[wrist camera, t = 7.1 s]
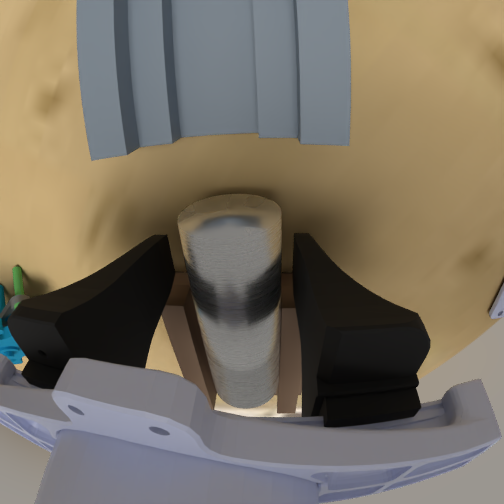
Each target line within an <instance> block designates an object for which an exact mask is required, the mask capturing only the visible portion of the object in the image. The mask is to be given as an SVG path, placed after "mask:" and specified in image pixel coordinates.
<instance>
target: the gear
mask: <svg viewBox="0 0 504 504" xmlns="http://www.w3.org/2000/svg"><path fill="white" fill-rule="evenodd" d="M12 270H13V281H14V291H15V296H13V297H12V298H11V299H10V300H9V302H8V303H7V305H5V297H4V287H3V286H2V285H0V354H2V355H4V356H6V357H7V358H8V359H9V360H10V361H11V362H12V363H13V364H20V363H23V361H22V357H23V356H26V355H25V354H24V353H23V351H22V350H21V348H20V347H19V346H18V344H17V343H16V341H15V340H14V338H13V337H12V335H11V333H10V331H9V328H8V322H7V320H8V318H9V316H10V315H11V314H12V312H13V311H14V310H15V308H16V307H17V306H18V304H19V303H20V302H21V301H22V300H25V299H29V298H30V297H29V296H27V295H24V289H23V280H22V271H21V267H14V268H13V269H12Z"/></svg>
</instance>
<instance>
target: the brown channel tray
mask: <svg viewBox="0 0 504 504" xmlns="http://www.w3.org/2000/svg"><path fill="white" fill-rule="evenodd" d="M162 318H163V321H164V324H165V327H166V330H167V333H168V336H169V338H170V341H171V344H172V347H173V350H174V352H175V355H176V358H177V361H178V363H179V366H180V368H181V371H182V374H183V376H184V378H185V379H187V380H189V381H190V382H192V383H194V384H196V385H197V387H198V388H199V389H200V390H201V391H202V392H203V394H204V395H205V396H206V397H207V400H208V403H209V406H210V408H211V409H212V410H214V407H215V400H216V394H217V391H216V388H215V384H214V381H213V377H212V373H211V370H210V366H209V362H208V358H207V355H206V351H205V347H204V343H203V339H202V335H201V331H200V327H199V323H198V318H197V314H196V310H195V306H194V301H193V297H192V292H191V288H190V283H189V279H188V274H187V273H183V272H175V277H174V282H173V285H172V289H171V293H170V295H169V298H168V300H167V302H166V305H165V307H164V310H163V312H162ZM301 392H302V365H301V342H300V333H299V327H298V321H297V314H296V308H295V302H294V296H293V276H292V273H281V319H280V356H279V384H278V388H277V391H276V393H275V395H277V413H295V410H296V404H297V398H298V395H301Z"/></svg>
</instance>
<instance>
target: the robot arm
mask: <svg viewBox="0 0 504 504" xmlns="http://www.w3.org/2000/svg"><path fill="white" fill-rule="evenodd" d="M292 276H293V296H294V302H295V308H296V314H297V321H298V327H299V333H300V342H301V365H302V417H246V416H240V415H235V414H230V413H226V412H221V411H217V410H212V409H211V408H210V406H209V403H208V400H207V397H206V396H205V395H204V394H203V392H202V391H201V390H200V389H199V388H198V387H197V385H196V384H194V383H192V382H190V381H189V380H187V379H185V378H183V377H181V376H179V375H176V374H172V373H168V372H164V371H160V370H153V369H146V368H145V366H146V361H147V357H148V353H149V349H150V345H151V341H152V338H153V335H154V332H155V329H156V327H157V324H158V322H159V319H160V317H161V315H162V312H163V310H164V307H165V305H166V302H167V300H168V298H169V295H170V293H171V289H172V285H173V282H174V277H175V269H174V265H173V260H172V256H171V251H170V246H169V241H168V237H167V235H153V236H151V237H149V238H148V239H146V240H145V241H143V242H141V243H140V244H139V245H137V246H136V247H134V248H133V249H131V250H130V251H128V252H127V253H125V254H124V255H123V256H121V257H119V258H118V259H116V260H115V261H113V262H112V263H110V264H109V265H107V266H106V267H104V268H102V269H101V270H99V271H97V272H95V273H93V274H92V275H90V276H88V277H86V278H84V279H82V280H80V281H77V282H75V283H73V284H71V285H69V286H66V287H64V288H61V289H58V290H56V291H53V292H50V293H47V294H44V295H40V296H36V297H33V298H29V299H25V300H22V301H21V302H20V303H19V304H18V306H17V307H16V308H15V310H14V311H13V312H12V314H11V315H10V316H9V318H8V320H7V322H8V328H9V331H10V333H11V335H12V337H13V338H14V340H15V341H16V343H17V344H18V346H19V347H20V348H21V350H22V351H23V353H24V354H25V355H26V357H27V358H28V359H29V361H28V363H27V364H26V366H25V368H24V369H23V371H20V370H17V369H16V367H15V366H14V364H13V363H12V362H11V361H10V360H9V359H8V358H7V357H6V356H4V355H2V354H0V423H1V424H3V425H4V426H6V427H7V428H9V429H11V430H12V431H14V432H16V433H17V434H19V435H21V436H22V437H24V438H26V439H28V440H29V441H31V442H33V443H35V444H36V445H38V446H40V447H42V448H43V449H46V450H47V451H49V452H51V455H50V458H49V461H48V463H47V466H46V469H45V472H44V475H43V478H42V481H41V484H40V487H39V490H38V494H37V498H36V500H35V504H319V503H327V502H334V501H341V500H346V499H352V498H358V497H362V496H367V495H372V494H376V493H380V492H385V491H389V490H393V489H396V488H400V487H403V486H407V485H410V484H413V483H417V482H420V481H423V480H426V479H429V478H432V477H435V476H438V475H441V474H444V473H447V472H449V471H452V470H455V469H458V468H460V467H463V466H464V465H466V464H467V463H469V462H470V461H472V460H473V459H475V458H476V457H478V456H479V455H480V454H482V453H483V452H484V451H486V450H487V449H489V448H490V447H491V446H492V445H494V444H495V443H496V442H498V441H499V440H500V439H501V437H502V436H501V432H500V429H499V426H498V423H497V420H496V417H495V414H494V412H493V409H492V406H491V403H490V401H489V398H488V396H487V393H486V390H485V388H484V386H483V383H482V381H481V379H476V380H472V381H468V382H464V383H461V384H457V385H455V386H453V387H451V388H450V389H449V390H448V391H447V392H446V393H445V394H444V396H443V398H442V399H441V400H437V401H432V402H427V403H423V404H421V403H420V400H419V396H418V393H417V390H416V387H417V386H418V385H419V381H418V378H417V374H416V373H417V371H418V370H419V368H420V366H421V365H422V363H423V361H424V360H425V358H426V356H427V354H428V352H429V349H430V338H429V336H428V334H427V331H426V329H425V326H424V324H423V322H422V320H421V318H420V317H419V315H418V313H415V312H413V311H410V310H408V309H405V308H403V307H400V306H398V305H395V304H393V303H391V302H389V301H387V300H385V299H383V298H381V297H380V296H378V295H376V294H374V293H373V292H371V291H369V290H368V289H366V288H365V287H363V286H362V285H360V284H359V283H357V282H356V281H355V280H353V279H352V278H351V277H350V276H348V275H347V274H346V273H345V272H343V271H342V270H341V269H340V268H339V267H338V266H337V265H336V264H335V263H334V262H333V261H332V260H331V259H330V258H329V257H328V256H327V255H326V253H325V252H324V251H323V250H322V249H321V248H320V246H319V245H318V244H317V243H316V241H315V240H314V239H313V238H312V236H311V235H310V234H309V233H294V248H293V273H292ZM489 316H490V317H491V319H495V318H501V317H504V283H503V285H502V287H501V289H500V292H499V294H498V296H497V298H496V300H495V302H494V304H493V306H492V308H491V310H490V312H489Z"/></svg>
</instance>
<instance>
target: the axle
mask: <svg viewBox="0 0 504 504" xmlns="http://www.w3.org/2000/svg"><path fill="white" fill-rule="evenodd" d="M177 223H178V228H179V233H180V239H181V244H182V249H183V254H184V259H185V264H186V269H187V274H188V279H189V283H190V288H191V292H192V297H193V301H194V306H195V310H196V314H197V318H198V323H199V327H200V331H201V335H202V339H203V343H204V347H205V351H206V355H207V358H208V362H209V366H210V370H211V373H212V377H213V381H214V384H215V388H216V391H217V393H218V395H219V396H220V398H221V399H222V400H223V401H224V402H226V403H227V404H229V405H231V406H234V407H237V408H254V407H258V406H261V405H263V404H265V403H266V402H268V401H269V400H270V399H271V398H272V397H273V396H274V395H275V393H276V391H277V388H278V384H279V356H280V319H281V209H280V207H279V205H278V204H276V203H275V202H274V201H272V200H270V199H268V198H265V197H261V196H257V195H251V194H225V195H218V196H213V197H209V198H206V199H202V200H200V201H197V202H195V203H193V204H191V205H189V206H188V207H186V208H185V209H184V210H183V211H182V212H181V213H180V214H179V216H178V219H177Z"/></svg>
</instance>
